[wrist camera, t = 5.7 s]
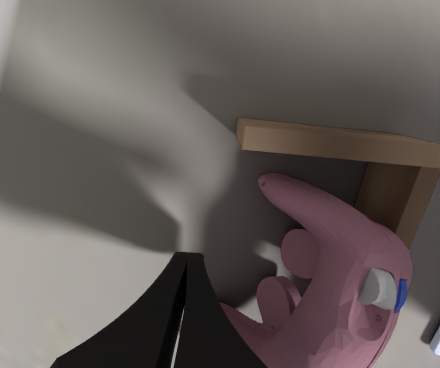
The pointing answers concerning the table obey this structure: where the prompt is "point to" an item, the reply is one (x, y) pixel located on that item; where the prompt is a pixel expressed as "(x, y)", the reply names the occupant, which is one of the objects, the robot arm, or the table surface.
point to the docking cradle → (375, 172)
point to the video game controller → (327, 284)
